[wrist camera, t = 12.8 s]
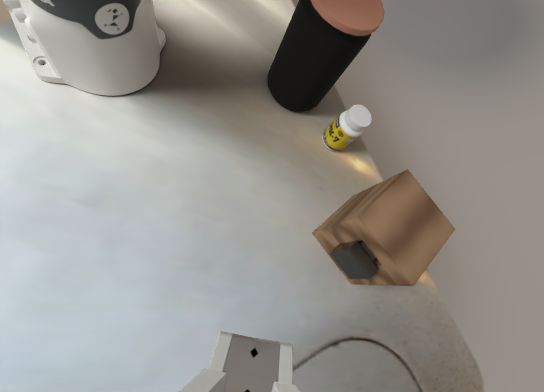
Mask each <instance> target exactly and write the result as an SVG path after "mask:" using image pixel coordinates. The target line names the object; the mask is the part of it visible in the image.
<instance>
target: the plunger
mask: <svg viewBox="0 0 544 392" xmlns="http://www.w3.org/2000/svg"><path fill="white" fill-rule="evenodd" d="M330 255H331V256H332V257H333V259H334V260H335V261H336V262H337V264H338V265H339V266H340V268H341V269H342V270H343V272H344V273H345V274H346V275H347V277H348V278H349V279H371V277H372V276H373V275H374V274H375V273H376V272H377V270H378V269H379V267H378V266H377V265H376V263H375V262H374V260H375V259H376V257H375V256H374V254H373V253H372V252H371V250H370V249H369V248H368V247H367V245H366V244H365V243H364V241H363V240H360V241H358V240H356V241H351V242H347V243H342V244H338V245H337V246H336V247H335V248H334V249H333V250H332V251H331V252H330Z"/></svg>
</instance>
